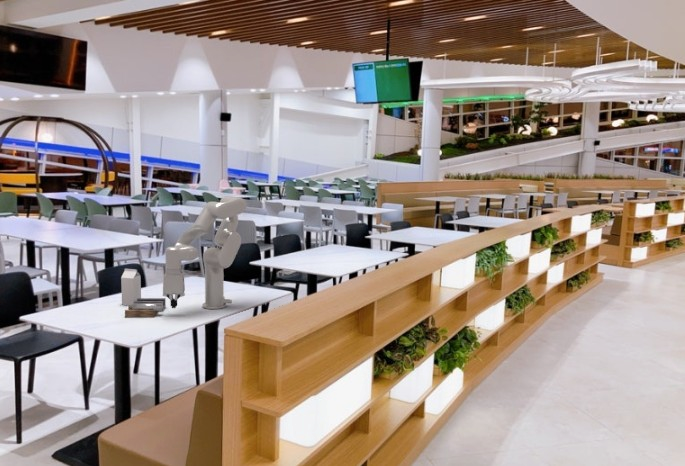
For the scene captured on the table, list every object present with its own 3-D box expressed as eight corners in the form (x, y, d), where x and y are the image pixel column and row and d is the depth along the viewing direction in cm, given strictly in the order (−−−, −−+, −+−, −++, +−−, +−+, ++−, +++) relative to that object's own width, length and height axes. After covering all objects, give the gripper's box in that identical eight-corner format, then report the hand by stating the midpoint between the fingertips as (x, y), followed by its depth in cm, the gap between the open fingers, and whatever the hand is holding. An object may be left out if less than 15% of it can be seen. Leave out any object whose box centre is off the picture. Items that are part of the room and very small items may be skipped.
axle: (162, 310, 292) (162, 302, 292) (161, 312, 289) (161, 304, 288) (134, 310, 291) (134, 302, 290) (132, 312, 287) (132, 304, 286)
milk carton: (134, 306, 305) (133, 270, 302) (121, 305, 307) (120, 270, 304) (141, 302, 312) (140, 268, 309) (129, 301, 313) (128, 267, 311)
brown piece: (157, 312, 294) (157, 306, 294) (154, 317, 287) (154, 310, 286) (129, 313, 293) (129, 306, 292) (125, 317, 285) (124, 310, 285)
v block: (165, 307, 304) (165, 298, 304) (162, 311, 297) (162, 302, 296) (138, 307, 303) (137, 298, 302) (134, 311, 295) (134, 302, 294)
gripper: (190, 270, 293) (190, 305, 295) (159, 269, 291) (160, 305, 294) (187, 273, 285) (187, 309, 288) (156, 273, 284) (157, 309, 286)
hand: (173, 307), depth 291 cm, fingers closed
